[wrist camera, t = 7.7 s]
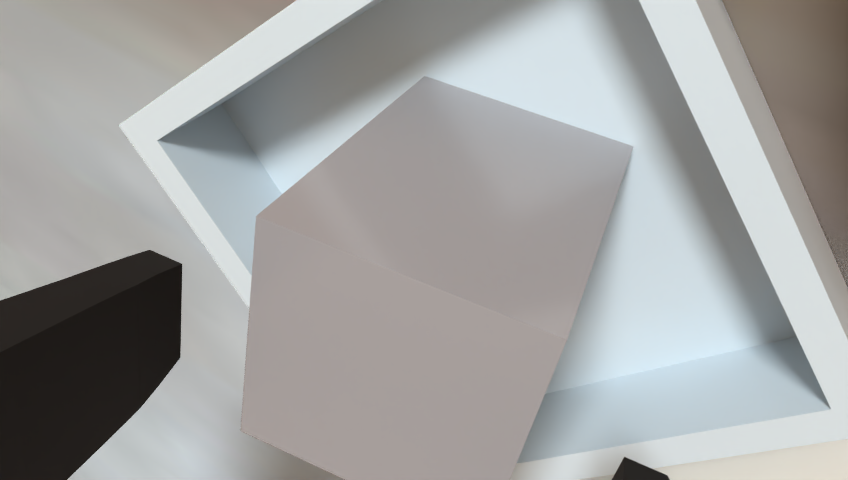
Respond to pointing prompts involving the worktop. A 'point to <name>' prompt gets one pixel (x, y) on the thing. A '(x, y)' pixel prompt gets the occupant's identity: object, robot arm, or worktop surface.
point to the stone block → (424, 287)
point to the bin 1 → (626, 228)
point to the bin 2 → (767, 465)
